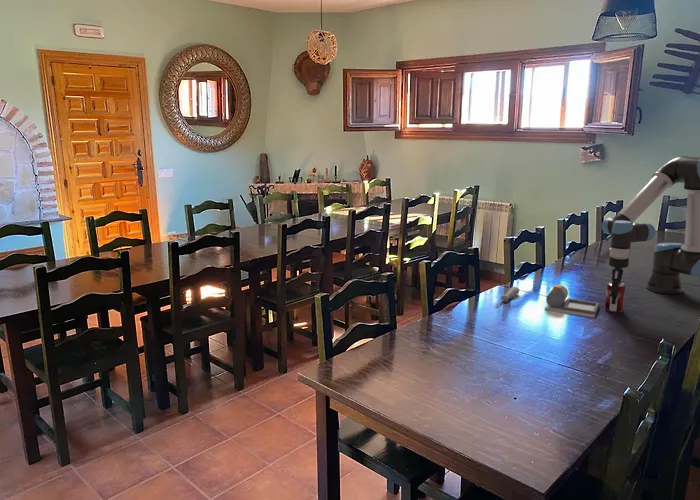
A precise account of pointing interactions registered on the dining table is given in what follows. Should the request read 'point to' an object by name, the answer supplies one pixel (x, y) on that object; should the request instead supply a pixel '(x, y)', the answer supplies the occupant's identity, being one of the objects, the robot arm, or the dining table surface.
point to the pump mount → (569, 303)
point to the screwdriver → (509, 294)
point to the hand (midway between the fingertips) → (613, 307)
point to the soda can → (620, 297)
